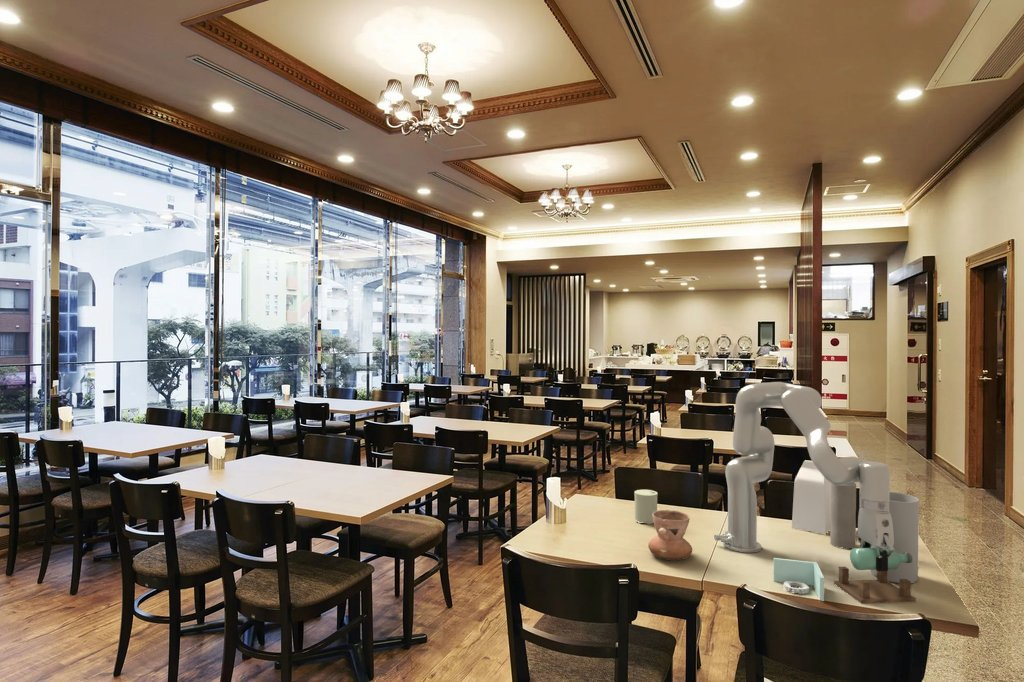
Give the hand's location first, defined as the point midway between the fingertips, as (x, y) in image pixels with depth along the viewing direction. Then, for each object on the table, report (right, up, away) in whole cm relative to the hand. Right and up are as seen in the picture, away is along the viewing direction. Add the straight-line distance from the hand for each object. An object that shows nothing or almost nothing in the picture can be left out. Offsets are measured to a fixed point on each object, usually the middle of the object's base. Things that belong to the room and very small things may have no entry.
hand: (874, 565), depth 176 cm
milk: (+11, -7, +59) cm, 60 cm away
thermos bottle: (+13, -8, +40) cm, 43 cm away
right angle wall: (-22, -9, +1) cm, 23 cm away
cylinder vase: (+13, -8, +12) cm, 20 cm away
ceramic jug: (-52, -8, +29) cm, 60 cm away
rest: (0, -8, 0) cm, 8 cm away
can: (-52, -7, +67) cm, 85 cm away
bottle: (+3, -1, 0) cm, 3 cm away
